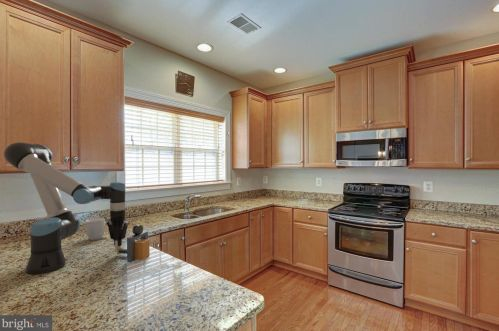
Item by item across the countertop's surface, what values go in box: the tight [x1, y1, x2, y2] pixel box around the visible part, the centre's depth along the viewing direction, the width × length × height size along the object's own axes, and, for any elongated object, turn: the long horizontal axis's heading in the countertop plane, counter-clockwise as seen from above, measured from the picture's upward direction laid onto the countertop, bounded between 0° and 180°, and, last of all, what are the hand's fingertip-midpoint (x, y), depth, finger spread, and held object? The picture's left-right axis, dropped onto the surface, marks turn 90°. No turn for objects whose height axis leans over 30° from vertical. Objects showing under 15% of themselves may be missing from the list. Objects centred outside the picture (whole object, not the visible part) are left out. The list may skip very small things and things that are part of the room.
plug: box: [116, 238, 150, 260], centre depth 136 cm, size 17×6×9 cm, turn 79°
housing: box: [126, 224, 149, 263], centre depth 135 cm, size 14×3×18 cm, turn 169°
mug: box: [85, 217, 110, 241], centre depth 169 cm, size 15×11×13 cm
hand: (117, 251), depth 138 cm, fingers closed
